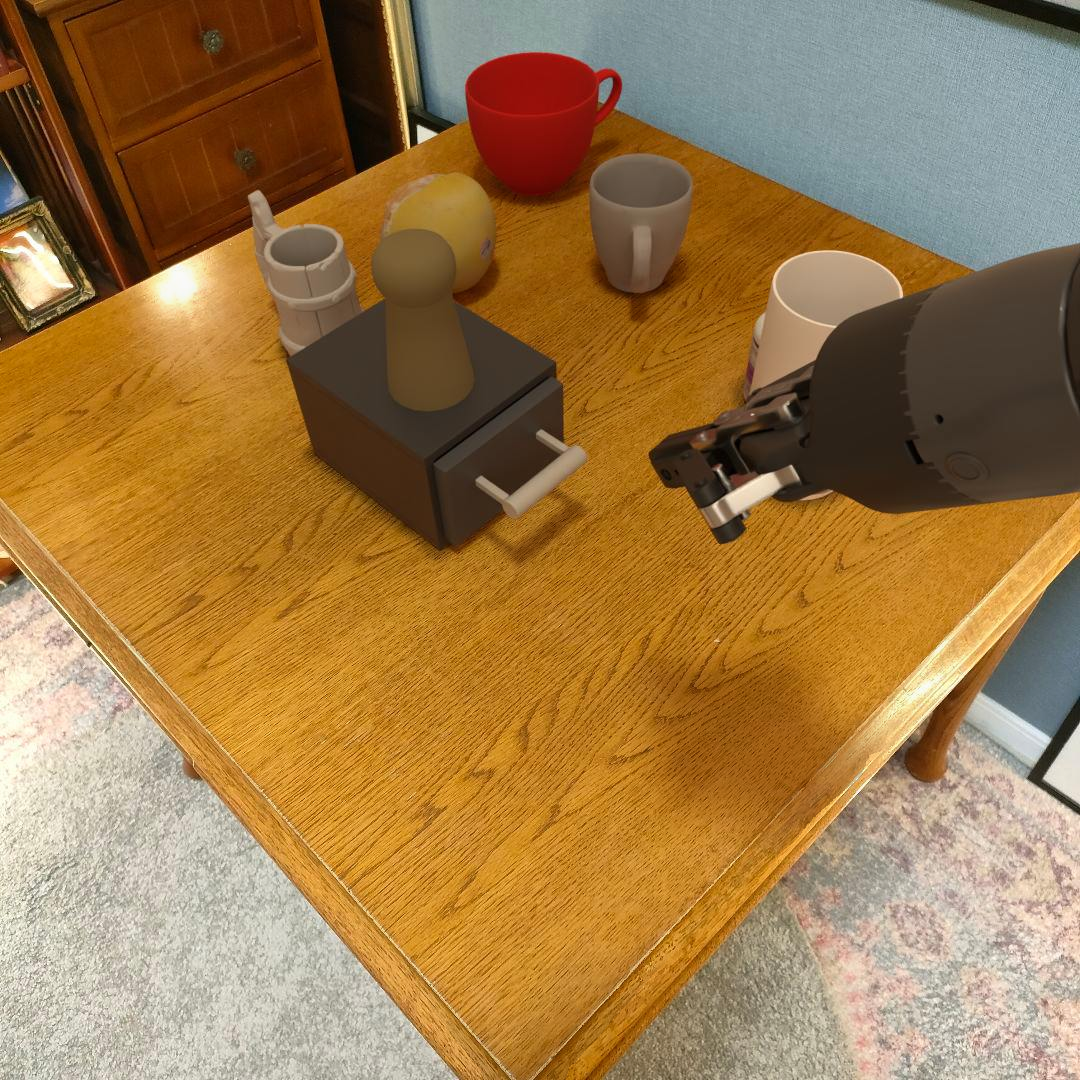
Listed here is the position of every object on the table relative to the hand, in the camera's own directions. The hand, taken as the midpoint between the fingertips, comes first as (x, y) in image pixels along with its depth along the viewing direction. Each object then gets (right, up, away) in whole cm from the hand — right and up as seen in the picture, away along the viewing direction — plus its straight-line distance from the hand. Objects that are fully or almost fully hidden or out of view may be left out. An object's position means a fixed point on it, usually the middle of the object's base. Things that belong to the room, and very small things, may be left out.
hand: (665, 463), depth 46 cm
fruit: (-15, +20, +43) cm, 50 cm away
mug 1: (-26, +15, +38) cm, 49 cm away
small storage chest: (-14, +3, +29) cm, 32 cm away
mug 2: (+3, +20, +41) cm, 46 cm away
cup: (+13, +2, +27) cm, 30 cm away
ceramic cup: (-5, +35, +54) cm, 64 cm away
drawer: (-11, +1, +26) cm, 29 cm away
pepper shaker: (-14, +7, +20) cm, 25 cm away
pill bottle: (+13, +8, +32) cm, 35 cm away
